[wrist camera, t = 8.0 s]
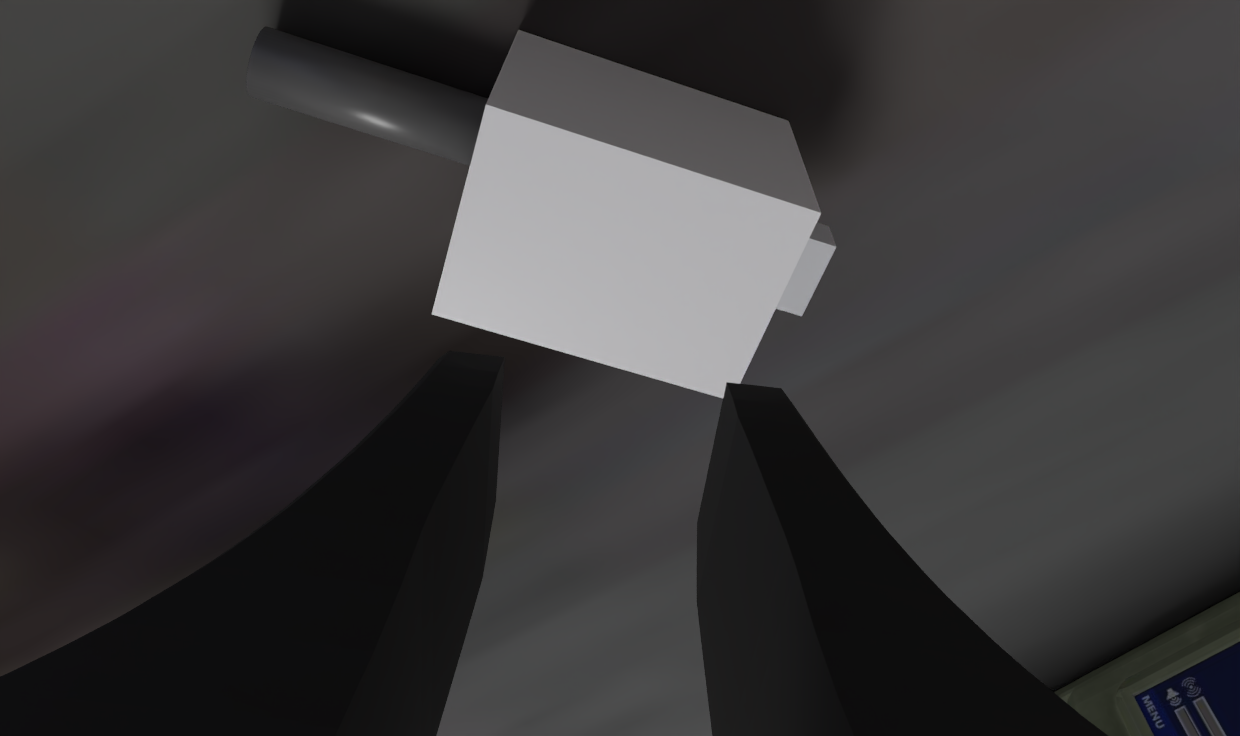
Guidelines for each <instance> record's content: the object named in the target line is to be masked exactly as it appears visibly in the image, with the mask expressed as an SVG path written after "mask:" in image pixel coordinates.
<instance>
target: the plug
mask: <svg viewBox="0 0 1240 736" xmlns="http://www.w3.org/2000/svg"><path fill="white" fill-rule="evenodd" d="M247 92H248V95H249V96H250V97H252V98H255V99H258V100H261V101H264V102H268V103H271V104H274V105H277V106H280V107H283V108H287V109H290V110H293V111H296V112H299V113H303V114H306V115H309V116H312V117H315V118H319V119H322V120H325V121H328V122H331V123H335V124H338V125H341V126H344V127H347V128H350V129H354V130H357V131H360V132H363V133H366V134H370V135H373V136H376V137H379V138H382V139H386V140H389V141H392V142H395V143H398V144H401V145H405V146H408V147H411V148H414V149H417V150H421V151H424V152H427V153H430V154H433V155H437V156H440V157H443V158H446V159H449V160H452V161H456V162H459V163H462V164H465V165H468V166H470V168H469V172H468V175H467V179H466V183H465V187H464V191H463V195H462V199H461V203H460V206H459V210H458V214H457V218H456V222H455V226H454V230H453V234H452V237H451V241H450V245H449V249H448V253H447V257H446V261H445V265H444V268H443V272H442V276H441V280H440V284H439V288H438V292H437V296H436V299H435V303H434V307H433V311H432V314H433V315H436V316H439V317H443V318H446V319H450V320H453V321H457V322H460V323H464V324H467V325H471V326H474V327H478V328H481V329H484V330H488V331H491V332H495V333H498V334H502V335H505V336H509V337H512V338H516V339H519V340H522V341H526V342H529V343H533V344H536V345H540V346H543V347H547V348H550V349H554V350H557V351H561V352H564V353H567V354H571V355H574V356H578V357H581V358H585V359H588V360H592V361H595V362H599V363H602V364H606V365H609V366H612V367H616V368H619V369H623V370H626V371H630V372H633V373H637V374H640V375H644V376H647V377H651V378H654V379H657V380H661V381H664V382H668V383H671V384H675V385H678V386H682V387H685V388H689V389H692V390H696V391H699V392H702V393H706V394H709V395H713V396H716V397H720V398H723V397H724V393H725V388H726V383H727V382H729V383H737V384H740V382H741V380H742V378H743V376H744V374H745V372H746V370H747V368H748V366H749V363H750V361H751V359H752V357H753V355H754V353H755V351H756V349H757V347H758V345H759V343H760V340H761V338H762V336H763V334H764V332H765V330H766V328H767V326H768V324H769V322H770V319H771V317H772V315H773V313H774V311H775V309H779V310H782V311H786V312H789V313H792V314H795V315H799V316H802V315H803V313H804V311H805V309H806V307H807V305H808V303H809V301H810V299H811V297H812V295H813V293H814V291H815V289H816V287H817V285H818V283H819V281H820V279H821V277H822V275H823V273H824V271H825V269H826V267H827V265H828V263H829V261H830V259H831V257H832V255H833V253H834V250H835V248H836V245H835V242H834V239H833V236H832V234H831V231H830V228H829V226H826V225H823V224H820V223H817V221H818V219H819V217H820V215H821V211H820V208H819V205H818V202H817V199H816V197H815V194H814V191H813V188H812V185H811V183H810V180H809V177H808V174H807V171H806V168H805V166H804V163H803V160H802V157H801V154H800V151H799V149H798V146H797V143H796V140H795V137H794V134H793V132H792V129H791V126H790V123H789V121H788V120H785V119H782V118H779V117H776V116H773V115H770V114H767V113H764V112H761V111H758V110H755V109H752V108H749V107H746V106H743V105H740V104H737V103H734V102H731V101H728V100H725V99H722V98H719V97H717V96H714V95H711V94H708V93H705V92H702V91H699V90H696V89H693V88H690V87H687V86H684V85H681V84H678V83H675V82H672V81H669V80H666V79H663V78H660V77H657V76H654V75H651V74H648V73H645V72H642V71H639V70H636V69H633V68H631V67H628V66H625V65H622V64H619V63H616V62H613V61H610V60H607V59H604V58H601V57H598V56H595V55H592V54H589V53H586V52H583V51H580V50H577V49H574V48H571V47H568V46H565V45H562V44H559V43H556V42H553V41H550V40H548V39H545V38H542V37H539V36H536V35H533V34H530V33H527V32H524V31H521V30H518V31H517V34H516V36H515V38H514V41H513V43H512V45H511V48H510V50H509V52H508V55H507V57H506V59H505V61H504V64H503V66H502V68H501V71H500V73H499V75H498V78H497V80H496V82H495V84H494V87H493V89H492V91H491V94H490V96H489V98H485V97H482V96H479V95H476V94H473V93H469V92H466V91H463V90H460V89H457V88H454V87H451V86H448V85H445V84H442V83H439V82H436V81H433V80H429V79H426V78H423V77H420V76H417V75H414V74H411V73H408V72H405V71H402V70H399V69H396V68H393V67H389V66H386V65H383V64H380V63H377V62H374V61H371V60H368V59H365V58H362V57H359V56H356V55H353V54H349V53H346V52H343V51H340V50H337V49H334V48H331V47H328V46H325V45H322V44H319V43H316V42H313V41H309V40H306V39H303V38H300V37H297V36H294V35H291V34H288V33H285V32H282V31H279V30H276V29H273V28H269V27H264V28H263V29H262V30H261V31H260V33H259V35H258V37H257V39H256V41H255V43H254V46H253V49H252V52H251V56H250V60H249V65H248V71H247Z"/></svg>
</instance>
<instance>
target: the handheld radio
mask: <svg viewBox="0 0 1240 736" xmlns="http://www.w3.org/2000/svg"><path fill="white" fill-rule="evenodd" d="M1054 693H1055V694H1056V695H1057V696H1059V697H1060V698H1061V699H1062V700H1064V701H1065V702H1066V703H1067V704H1068V705H1070V706H1071V707H1072V708H1073V709H1075V710H1076V711H1077V712H1078V713H1079V714H1081V715H1082V716H1083V717H1084V718H1086V719H1087V720H1088V721H1090V722H1091V723H1092V724H1094V725H1095V726H1096V727H1098V728H1099V729H1100V730H1102V731H1103V732H1104V733H1106V734H1107V735H1108V736H1240V592H1238V593H1237V594H1235V595H1233V596H1231V597H1229V598H1227V599H1225V600H1224V601H1222V602H1220V603H1218V604H1216V605H1214V606H1212V607H1211V608H1209V609H1207V610H1205V611H1203V612H1201V613H1200V614H1198V615H1196V616H1194V617H1192V618H1190V619H1188V620H1187V621H1185V622H1183V623H1181V624H1179V625H1177V626H1175V627H1174V628H1172V629H1170V630H1168V631H1166V632H1164V633H1163V634H1161V635H1159V636H1157V637H1155V638H1153V639H1151V640H1150V641H1148V642H1146V643H1144V644H1142V645H1140V646H1139V647H1137V648H1135V649H1133V650H1131V651H1129V652H1127V653H1126V654H1124V655H1122V656H1120V657H1118V658H1116V659H1114V660H1113V661H1111V662H1109V663H1107V664H1105V665H1103V666H1102V667H1100V668H1098V669H1096V670H1094V671H1092V672H1090V673H1089V674H1087V675H1085V676H1083V677H1081V678H1079V679H1077V680H1076V681H1074V682H1072V683H1070V684H1068V685H1066V686H1065V687H1063V688H1061V689H1059V690H1057V691H1055V692H1054Z"/></svg>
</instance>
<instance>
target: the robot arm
mask: <svg viewBox="0 0 1240 736" xmlns="http://www.w3.org/2000/svg"><path fill="white" fill-rule="evenodd" d="M504 358H505V357H499V356H490V355H481V354H472V353H463V352H454V351H449V352H447V353H446V354H444V355H443V356H442V357H440V358H439V359H438V360H437V361H436V362H435V364H434V365H433V366H432V367H431V368H430V370H429V371H428V372H427V373H426V374H425V375H424V376H423V378H422V379H421V380H420V381H419V382H418V383H417V384H416V385H415V387H414V388H413V389H412V390H411V391H410V392H409V393H408V394H407V395H406V396H405V397H404V398H403V400H402V401H401V402H400V403H399V404H398V405H397V406H396V407H395V408H394V409H393V410H392V411H391V412H390V413H389V414H388V415H387V416H386V417H385V418H384V419H383V420H382V421H381V422H380V423H379V424H378V425H377V426H376V427H375V428H374V429H373V430H372V431H371V432H370V433H369V434H368V435H367V436H366V437H365V438H364V439H363V440H362V441H361V442H360V443H359V444H358V445H357V446H356V447H355V448H353V449H352V450H351V451H350V452H349V453H348V454H347V455H346V456H345V457H344V458H343V459H342V460H341V461H339V462H338V463H337V464H336V465H335V466H334V467H332V468H331V469H330V470H329V471H328V472H327V473H326V474H324V475H323V476H322V477H321V478H320V479H319V480H317V481H316V482H315V483H314V484H313V485H312V486H310V487H309V488H308V489H307V490H306V491H305V492H303V493H302V494H301V495H300V496H299V497H298V498H296V499H295V500H294V501H293V502H292V503H290V504H289V505H288V506H287V507H285V508H284V509H283V510H281V511H280V512H279V513H278V514H276V515H275V516H274V517H272V518H271V519H270V520H269V521H267V522H266V523H265V524H263V525H262V526H261V527H259V528H258V529H257V530H255V531H254V532H253V533H251V534H250V535H248V536H247V537H246V538H244V539H243V540H241V541H240V542H238V543H237V544H236V545H234V546H233V547H231V548H230V549H229V550H227V551H226V552H224V553H223V554H221V555H220V556H219V557H217V558H216V559H214V560H213V561H211V562H210V563H208V564H207V565H205V566H203V567H202V568H200V569H199V570H197V571H195V572H194V573H192V574H191V575H189V576H188V577H186V578H184V579H183V580H181V581H179V582H178V583H176V584H174V585H173V586H171V587H169V588H168V589H166V590H164V591H162V592H161V593H159V594H157V595H156V596H154V597H152V598H151V599H149V600H147V601H146V602H144V603H142V604H141V605H139V606H137V607H136V608H134V609H132V610H131V611H129V612H127V613H126V614H124V615H122V616H120V617H118V618H117V619H115V620H113V621H111V622H109V623H107V624H105V625H104V626H102V627H100V628H98V629H96V630H94V631H92V632H90V633H88V634H86V635H84V636H82V637H81V638H79V639H77V640H75V641H73V642H71V643H69V644H67V645H65V646H63V647H61V648H59V649H57V650H55V651H53V652H51V653H49V654H47V655H45V656H43V657H41V658H39V659H37V660H34V661H32V662H30V663H28V664H26V665H24V666H22V667H20V668H18V669H16V670H14V671H12V672H10V673H8V674H5V675H3V676H1V677H0V736H436V734H437V731H438V728H439V724H440V721H441V718H442V714H443V711H444V707H445V704H446V701H447V697H448V694H449V690H450V687H451V684H452V680H453V677H454V674H455V670H456V667H457V663H458V660H459V657H460V653H461V650H462V647H463V643H464V640H465V636H466V633H467V629H468V626H469V623H470V619H471V616H472V612H473V609H474V606H475V602H476V599H477V595H478V592H479V588H480V585H481V581H482V577H483V572H484V566H485V560H486V555H487V549H488V543H489V537H490V531H491V525H492V519H493V513H494V508H495V502H496V488H497V472H498V455H499V439H500V423H501V407H502V391H503V374H504ZM697 607H698V616H699V625H700V634H701V642H702V651H703V660H704V669H705V677H706V685H707V694H708V702H709V710H710V719H711V727H712V735H713V736H1108V735H1107V734H1106V733H1104V732H1103V731H1102V730H1100V729H1099V728H1098V727H1096V726H1095V725H1094V724H1092V723H1091V722H1090V721H1088V720H1087V719H1086V718H1084V717H1083V716H1082V715H1081V714H1079V713H1078V712H1077V711H1076V710H1075V709H1073V708H1072V707H1071V706H1070V705H1068V704H1067V703H1066V702H1065V701H1064V700H1062V699H1061V698H1060V697H1059V696H1057V695H1056V694H1055V693H1054V692H1053V691H1051V690H1050V689H1049V688H1048V687H1046V686H1045V685H1044V684H1043V683H1042V682H1040V681H1039V680H1038V679H1037V678H1035V677H1034V676H1033V675H1032V674H1031V673H1029V672H1028V671H1027V670H1026V669H1025V668H1023V667H1022V666H1021V665H1020V664H1019V663H1018V662H1017V661H1016V660H1014V659H1013V658H1012V657H1011V656H1010V655H1009V654H1008V653H1006V652H1005V651H1004V650H1003V649H1002V648H1001V647H1000V646H999V645H997V644H996V643H995V642H994V641H993V640H992V639H991V638H990V637H989V636H988V635H987V634H986V633H985V632H984V631H983V630H982V629H981V628H979V627H978V626H977V625H976V624H975V623H974V622H973V621H972V620H971V619H970V618H969V617H968V616H967V615H966V614H965V613H964V612H963V611H962V610H961V609H960V608H959V607H958V606H956V605H955V604H954V603H953V602H952V601H951V600H950V599H949V598H948V597H947V596H946V595H945V594H944V593H943V592H942V591H941V590H940V589H939V588H938V587H937V585H936V584H935V583H934V582H933V581H932V580H931V579H930V578H929V577H928V576H927V575H926V574H925V573H924V572H923V571H922V570H921V568H920V567H919V566H918V565H917V564H916V563H915V562H914V561H913V559H912V558H911V557H910V556H909V555H908V554H907V553H906V552H905V550H904V549H903V548H902V547H901V546H900V545H899V544H898V543H897V542H896V540H895V539H894V538H893V537H892V536H891V535H890V534H889V532H888V531H887V530H886V529H885V528H884V526H883V525H882V524H881V523H880V522H879V520H878V519H877V518H876V517H875V515H874V514H873V513H872V512H871V510H870V509H869V508H868V507H867V505H866V504H865V503H864V501H863V500H862V499H861V498H860V496H859V495H858V494H857V492H856V491H855V490H854V489H853V487H852V486H851V485H850V483H849V482H848V481H847V479H846V478H845V477H844V475H843V474H842V473H841V471H840V470H839V469H838V467H837V466H836V465H835V463H834V462H833V460H832V459H831V458H830V456H829V455H828V453H827V452H826V451H825V449H824V448H823V447H822V445H821V444H820V442H819V441H818V439H817V438H816V437H815V435H814V434H813V432H812V431H811V430H810V428H809V427H808V425H807V424H806V422H805V421H804V419H803V418H802V417H801V415H800V414H799V412H798V411H797V409H796V408H795V407H794V405H793V404H792V402H791V401H790V400H789V398H788V397H787V396H786V394H785V393H784V391H783V390H782V389H781V388H773V387H764V386H755V385H746V384H737V383H729V382H727V383H726V388H725V393H724V397H723V402H722V407H721V412H720V417H719V421H718V426H717V431H716V436H715V440H714V445H713V450H712V455H711V460H710V464H709V469H708V474H707V479H706V483H705V488H704V493H703V498H702V502H701V507H700V512H699V517H698V522H697Z"/></svg>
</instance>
